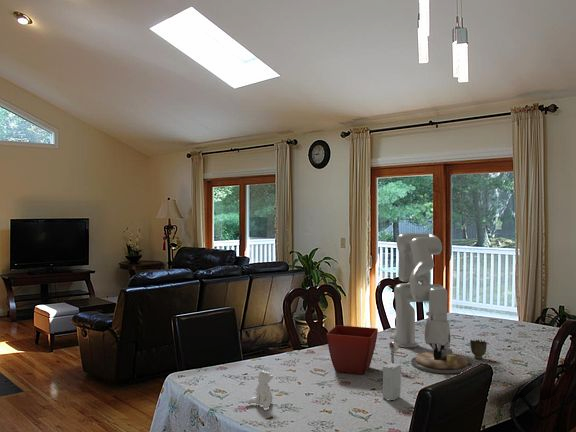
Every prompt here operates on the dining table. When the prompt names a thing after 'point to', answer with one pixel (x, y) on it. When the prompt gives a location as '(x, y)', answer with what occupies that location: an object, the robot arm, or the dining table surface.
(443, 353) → the cover
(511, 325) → the dining table surface
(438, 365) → the platter
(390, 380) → the skincare box
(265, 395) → the sitting furry creature
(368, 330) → the plant pot
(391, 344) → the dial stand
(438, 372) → the turntable base
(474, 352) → the cup
